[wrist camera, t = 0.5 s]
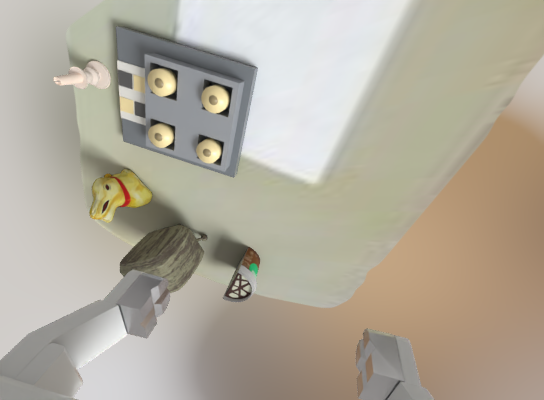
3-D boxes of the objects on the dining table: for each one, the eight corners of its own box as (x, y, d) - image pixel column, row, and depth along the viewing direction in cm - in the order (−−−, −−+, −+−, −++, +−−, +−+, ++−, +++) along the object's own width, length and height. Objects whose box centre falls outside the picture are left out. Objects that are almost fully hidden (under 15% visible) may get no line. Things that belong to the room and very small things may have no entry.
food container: (254, 280, 76) (243, 310, 68) (234, 271, 76) (222, 299, 68) (271, 253, 70) (262, 282, 61) (250, 243, 69) (238, 271, 61)
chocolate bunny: (127, 159, 64) (76, 189, 51) (158, 195, 68) (117, 231, 55) (111, 171, 67) (59, 202, 54) (142, 205, 71) (99, 241, 58)
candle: (111, 92, 56) (69, 101, 47) (88, 83, 56) (42, 91, 47) (110, 65, 53) (66, 70, 44) (86, 56, 53) (37, 59, 45)
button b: (202, 134, 52) (197, 138, 50) (223, 141, 52) (219, 146, 50) (200, 155, 55) (195, 159, 52) (220, 161, 54) (216, 166, 52)
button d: (155, 119, 53) (147, 122, 51) (176, 126, 52) (169, 129, 50) (155, 140, 55) (147, 144, 53) (175, 146, 55) (168, 150, 53)
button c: (155, 64, 47) (147, 65, 45) (178, 72, 47) (171, 73, 45) (155, 90, 50) (147, 92, 47) (177, 97, 49) (170, 99, 47)
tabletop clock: (172, 248, 76) (110, 326, 55) (155, 223, 73) (81, 296, 52) (214, 239, 71) (163, 322, 50) (198, 211, 68) (135, 288, 47)
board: (123, 26, 49) (103, 25, 45) (257, 68, 48) (250, 70, 44) (129, 138, 61) (113, 145, 57) (236, 173, 60) (229, 183, 55)
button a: (208, 81, 47) (202, 83, 45) (232, 88, 47) (227, 91, 44) (205, 106, 49) (199, 109, 47) (228, 113, 49) (223, 116, 47)
